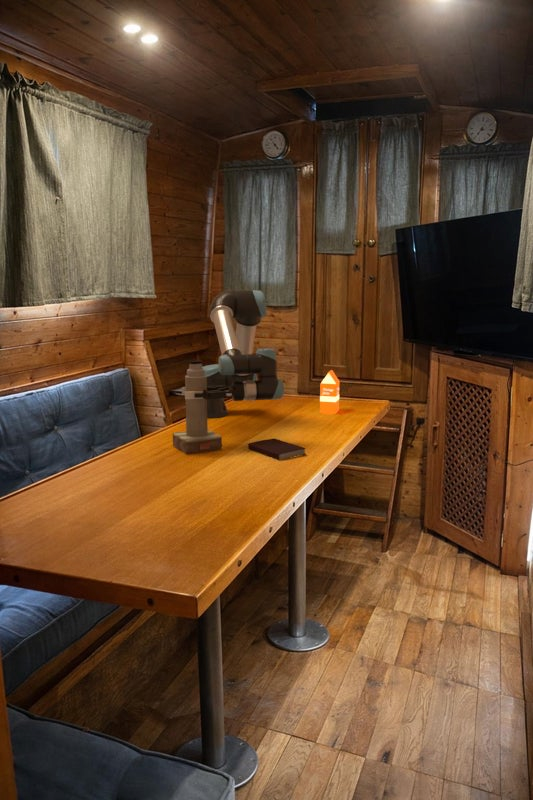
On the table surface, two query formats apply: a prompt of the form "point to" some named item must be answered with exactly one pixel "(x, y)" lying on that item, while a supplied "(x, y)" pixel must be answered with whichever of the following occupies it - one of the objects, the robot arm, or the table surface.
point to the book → (276, 448)
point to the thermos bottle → (196, 401)
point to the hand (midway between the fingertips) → (183, 393)
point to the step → (197, 442)
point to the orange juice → (329, 394)
